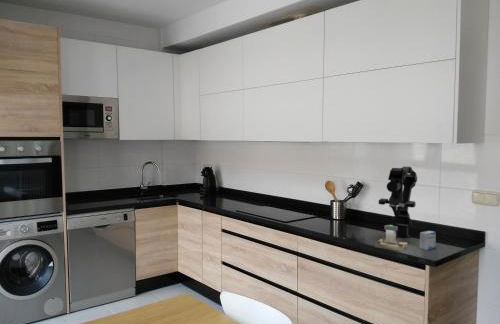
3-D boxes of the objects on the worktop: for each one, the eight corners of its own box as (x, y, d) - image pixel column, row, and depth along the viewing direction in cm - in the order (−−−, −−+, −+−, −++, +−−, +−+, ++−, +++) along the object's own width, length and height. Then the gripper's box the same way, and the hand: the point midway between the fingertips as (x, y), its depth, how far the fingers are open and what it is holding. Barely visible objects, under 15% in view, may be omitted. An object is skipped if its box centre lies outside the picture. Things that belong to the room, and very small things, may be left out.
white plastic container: (385, 239, 207) (386, 223, 207) (397, 241, 204) (398, 225, 203) (383, 241, 203) (383, 225, 203) (395, 243, 200) (395, 227, 199)
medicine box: (427, 250, 199) (428, 233, 198) (419, 248, 202) (419, 232, 202) (435, 248, 203) (436, 231, 203) (427, 246, 207) (427, 230, 207)
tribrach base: (381, 242, 214) (381, 233, 214) (407, 246, 206) (408, 236, 206) (374, 246, 204) (375, 237, 204) (402, 251, 197) (402, 241, 196)
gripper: (376, 190, 214) (375, 218, 215) (412, 193, 204) (411, 222, 204) (381, 188, 223) (380, 215, 224) (416, 191, 213) (415, 219, 214)
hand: (396, 218), depth 216 cm, fingers closed
